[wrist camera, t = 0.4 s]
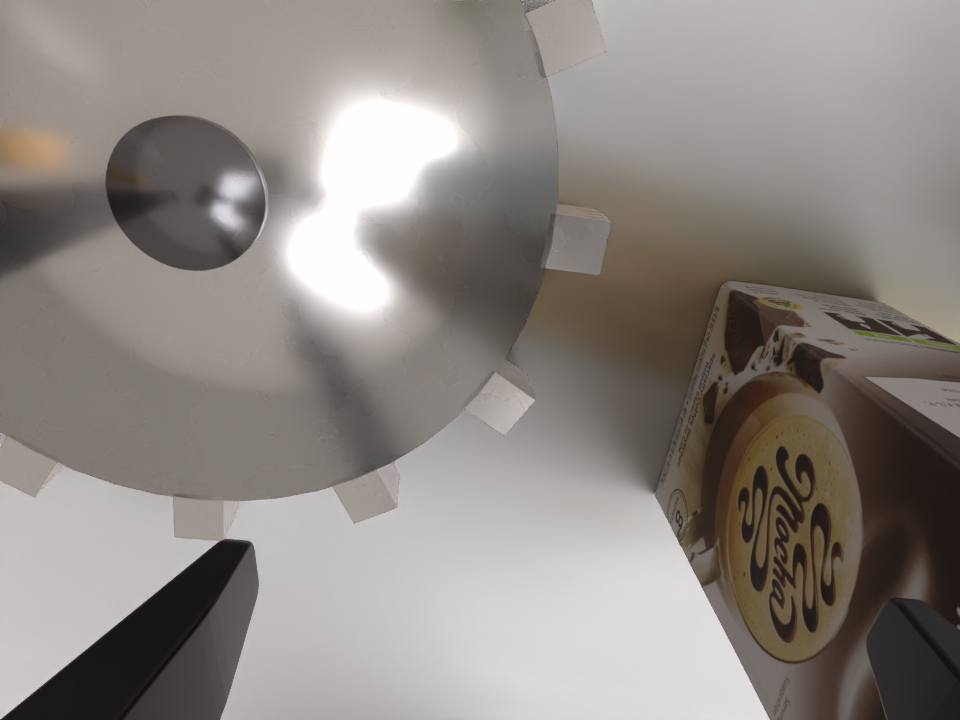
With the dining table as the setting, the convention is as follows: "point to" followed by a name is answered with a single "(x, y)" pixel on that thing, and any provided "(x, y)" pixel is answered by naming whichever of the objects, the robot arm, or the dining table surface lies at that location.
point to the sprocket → (273, 237)
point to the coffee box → (816, 486)
